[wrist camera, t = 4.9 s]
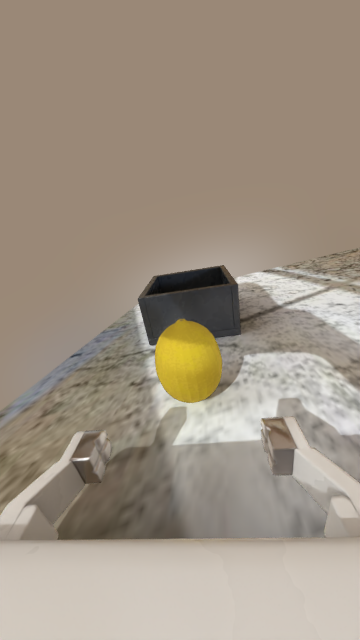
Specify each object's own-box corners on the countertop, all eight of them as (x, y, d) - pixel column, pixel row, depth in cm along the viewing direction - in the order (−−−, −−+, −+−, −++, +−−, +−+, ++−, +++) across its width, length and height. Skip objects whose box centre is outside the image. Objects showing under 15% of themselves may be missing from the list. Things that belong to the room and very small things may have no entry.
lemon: (190, 437, 16) (171, 347, 13) (154, 398, 21) (133, 324, 17) (239, 397, 19) (233, 315, 16) (198, 371, 23) (186, 302, 20)
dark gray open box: (149, 345, 30) (137, 298, 27) (161, 311, 42) (153, 276, 39) (240, 334, 29) (237, 283, 26) (227, 302, 40) (223, 265, 37)
